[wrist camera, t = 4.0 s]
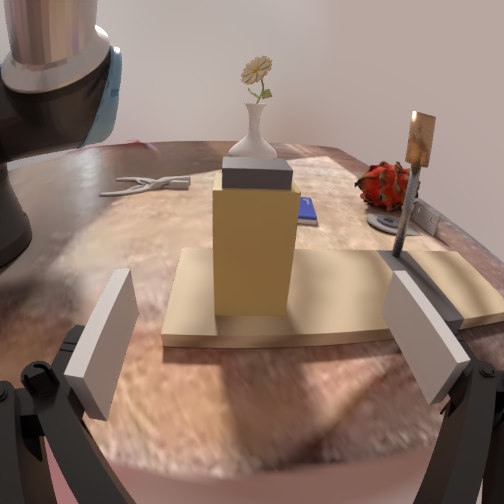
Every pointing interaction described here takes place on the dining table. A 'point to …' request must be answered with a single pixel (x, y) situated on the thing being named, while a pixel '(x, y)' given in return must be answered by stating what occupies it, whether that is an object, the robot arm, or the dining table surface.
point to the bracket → (422, 219)
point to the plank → (326, 299)
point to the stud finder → (253, 236)
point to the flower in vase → (255, 114)
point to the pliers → (152, 184)
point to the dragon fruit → (385, 185)
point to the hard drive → (306, 211)
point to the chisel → (414, 168)
